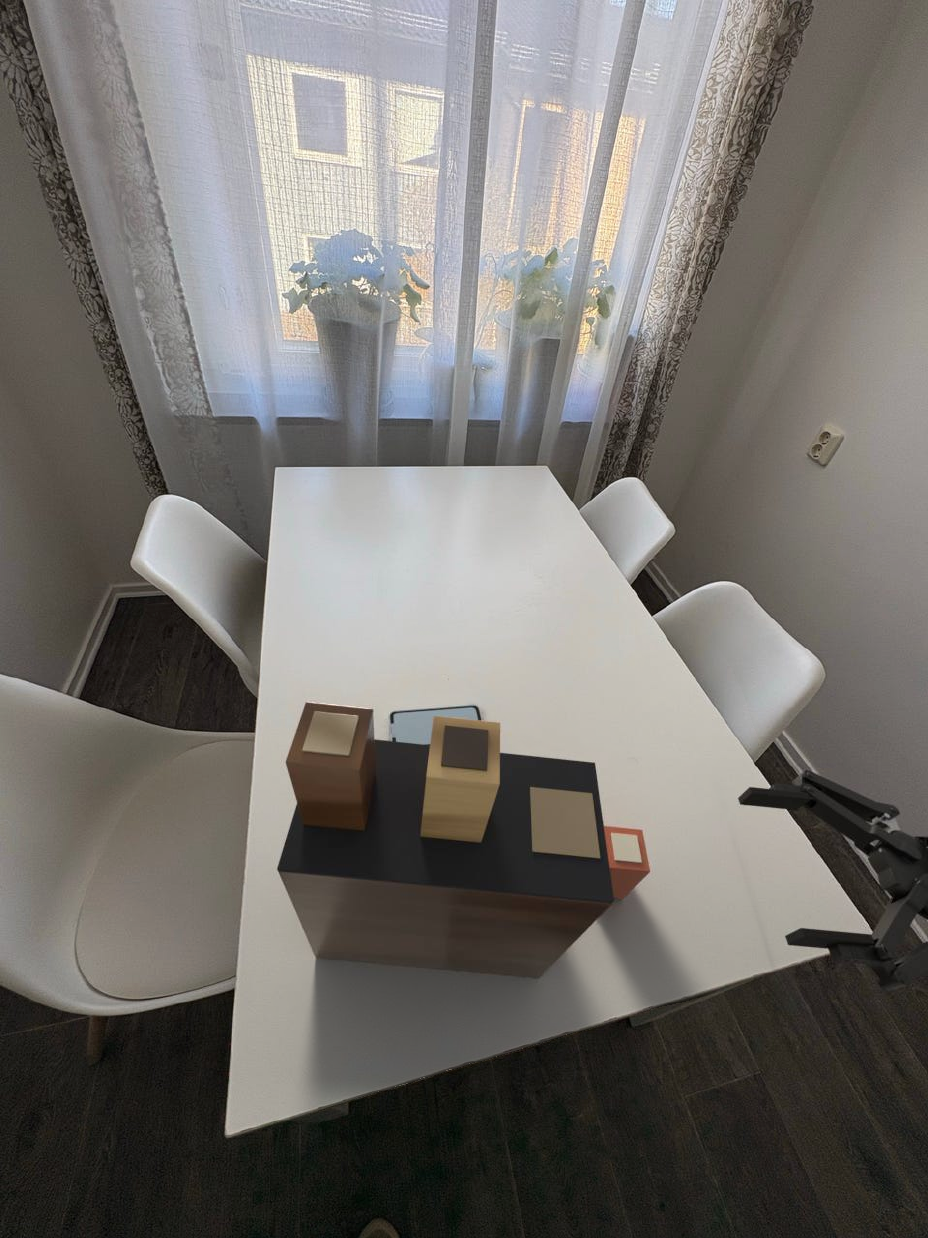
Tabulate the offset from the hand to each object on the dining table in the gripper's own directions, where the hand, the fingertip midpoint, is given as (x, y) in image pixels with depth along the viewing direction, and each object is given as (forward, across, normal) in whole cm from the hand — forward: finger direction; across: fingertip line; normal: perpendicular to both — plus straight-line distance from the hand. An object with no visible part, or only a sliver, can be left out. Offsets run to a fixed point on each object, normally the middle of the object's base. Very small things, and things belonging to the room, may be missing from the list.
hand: (766, 859), depth 52 cm
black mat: (+32, -2, +8) cm, 34 cm away
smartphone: (+34, +24, -20) cm, 47 cm away
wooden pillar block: (+32, -2, +8) cm, 34 cm away
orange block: (+10, +4, -20) cm, 23 cm away
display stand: (+32, -2, -20) cm, 38 cm away
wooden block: (+42, -2, +8) cm, 43 cm away
